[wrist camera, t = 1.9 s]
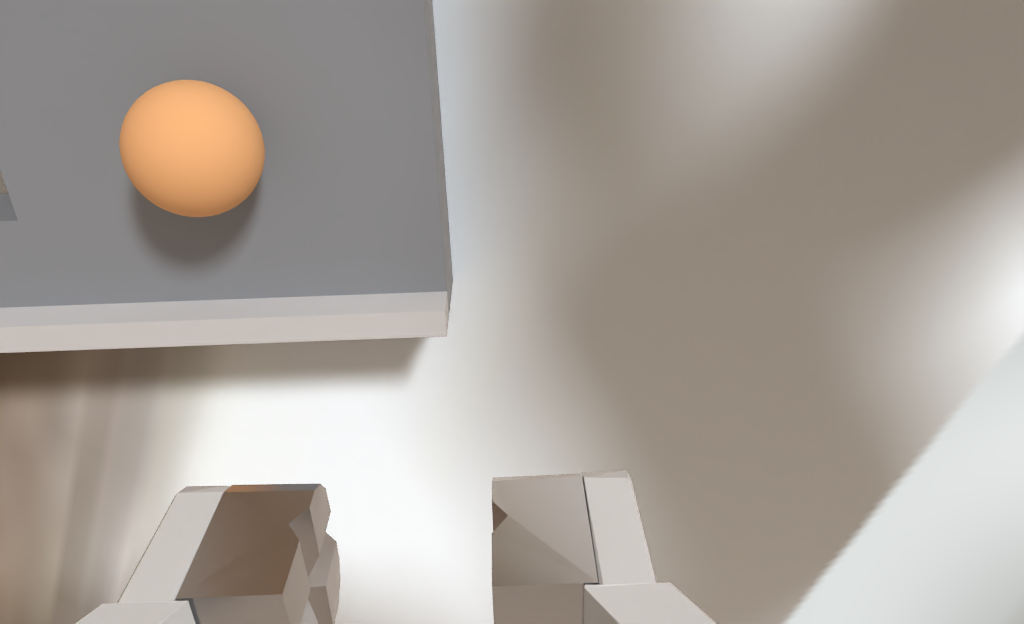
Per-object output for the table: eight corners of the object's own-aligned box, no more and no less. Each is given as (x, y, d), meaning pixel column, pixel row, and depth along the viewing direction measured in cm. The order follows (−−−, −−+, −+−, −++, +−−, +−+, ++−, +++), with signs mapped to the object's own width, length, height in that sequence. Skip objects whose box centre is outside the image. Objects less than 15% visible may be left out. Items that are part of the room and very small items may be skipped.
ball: (266, 65, 24) (227, 93, 20) (288, 189, 26) (255, 235, 22) (137, 70, 24) (75, 99, 20) (168, 193, 26) (116, 239, 22)
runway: (422, -123, 24) (409, -129, 20) (452, 280, 31) (446, 336, 27) (-283, -99, 24) (-437, -100, 20) (-101, 300, 31) (-190, 360, 27)
